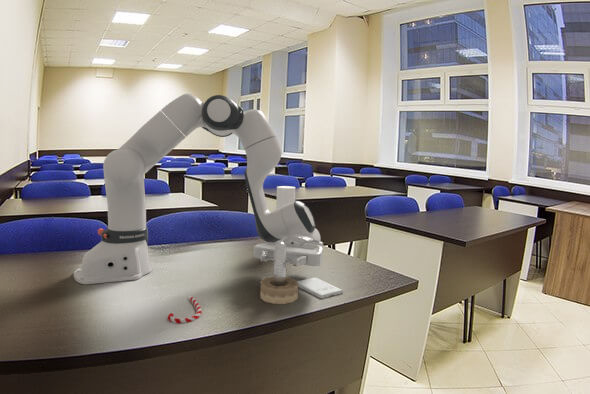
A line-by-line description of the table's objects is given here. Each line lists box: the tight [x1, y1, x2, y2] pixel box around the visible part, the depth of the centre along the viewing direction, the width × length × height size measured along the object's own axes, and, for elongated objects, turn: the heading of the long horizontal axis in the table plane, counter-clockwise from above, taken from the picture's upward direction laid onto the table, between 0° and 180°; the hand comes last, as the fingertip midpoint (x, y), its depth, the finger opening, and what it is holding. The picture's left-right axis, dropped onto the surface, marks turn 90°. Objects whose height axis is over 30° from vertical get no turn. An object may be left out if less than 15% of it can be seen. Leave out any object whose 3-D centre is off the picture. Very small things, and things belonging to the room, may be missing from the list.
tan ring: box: [260, 276, 299, 305], centre depth 116 cm, size 10×10×4 cm
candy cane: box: [167, 296, 202, 324], centre depth 105 cm, size 8×1×15 cm
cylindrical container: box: [275, 185, 296, 243], centre depth 163 cm, size 7×7×25 cm
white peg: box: [273, 242, 287, 286], centre depth 115 cm, size 3×3×16 cm
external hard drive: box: [296, 277, 344, 299], centre depth 123 cm, size 2×8×12 cm
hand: (278, 260), depth 114 cm, fingers open, 8 cm apart
